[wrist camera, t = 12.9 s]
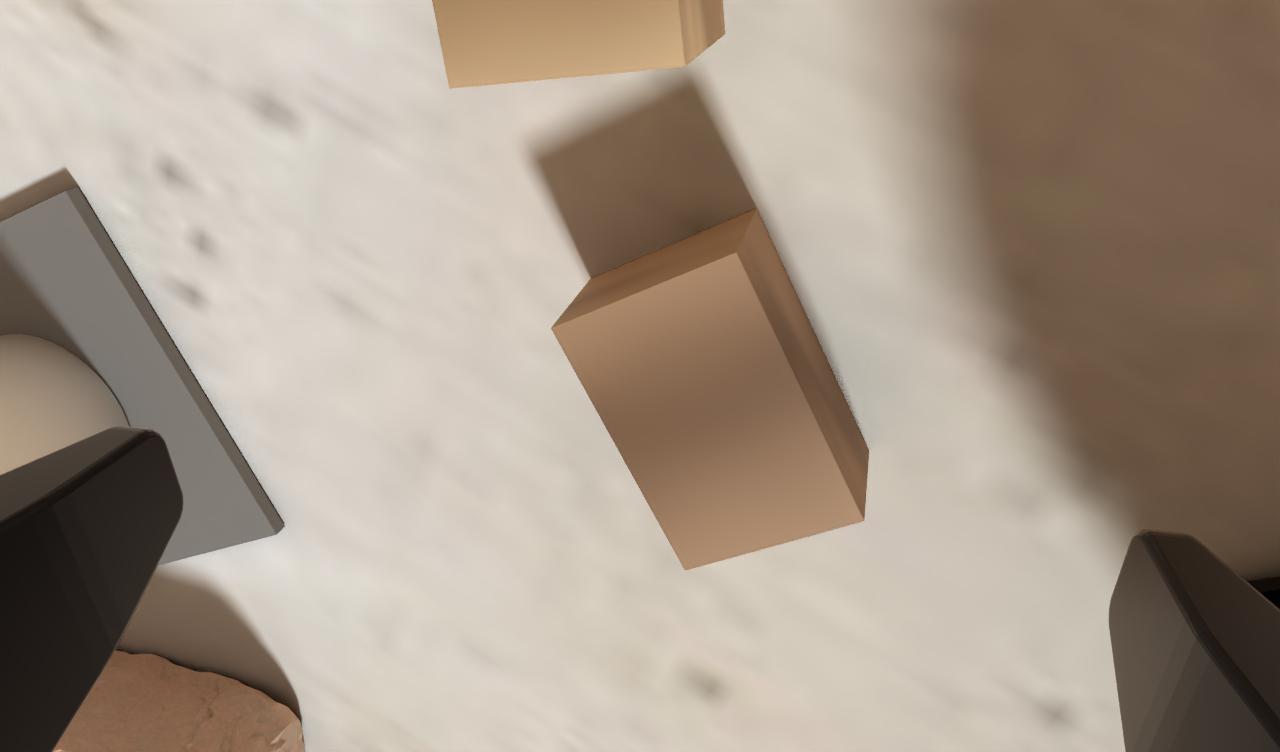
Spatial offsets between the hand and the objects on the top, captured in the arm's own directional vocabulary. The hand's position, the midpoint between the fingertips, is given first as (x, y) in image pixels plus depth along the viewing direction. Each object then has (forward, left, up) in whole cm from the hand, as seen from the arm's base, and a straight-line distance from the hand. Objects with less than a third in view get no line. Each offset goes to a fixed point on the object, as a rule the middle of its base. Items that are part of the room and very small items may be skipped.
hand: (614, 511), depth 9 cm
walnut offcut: (-4, +2, -12) cm, 13 cm away
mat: (0, +21, -12) cm, 24 cm away
